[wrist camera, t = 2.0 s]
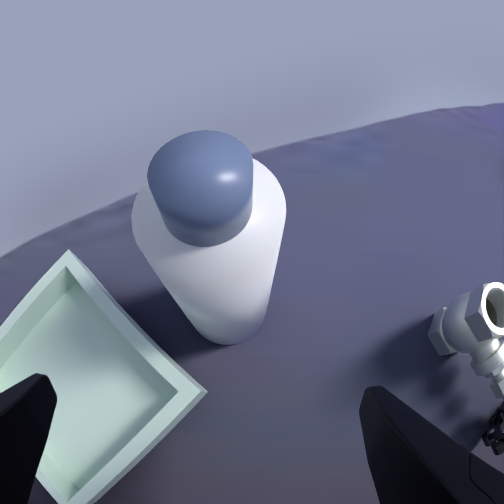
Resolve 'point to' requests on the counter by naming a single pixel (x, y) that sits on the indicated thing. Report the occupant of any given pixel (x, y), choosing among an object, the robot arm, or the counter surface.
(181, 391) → the shallow mint tray
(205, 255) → the bottle
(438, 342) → the valve
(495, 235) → the counter surface
